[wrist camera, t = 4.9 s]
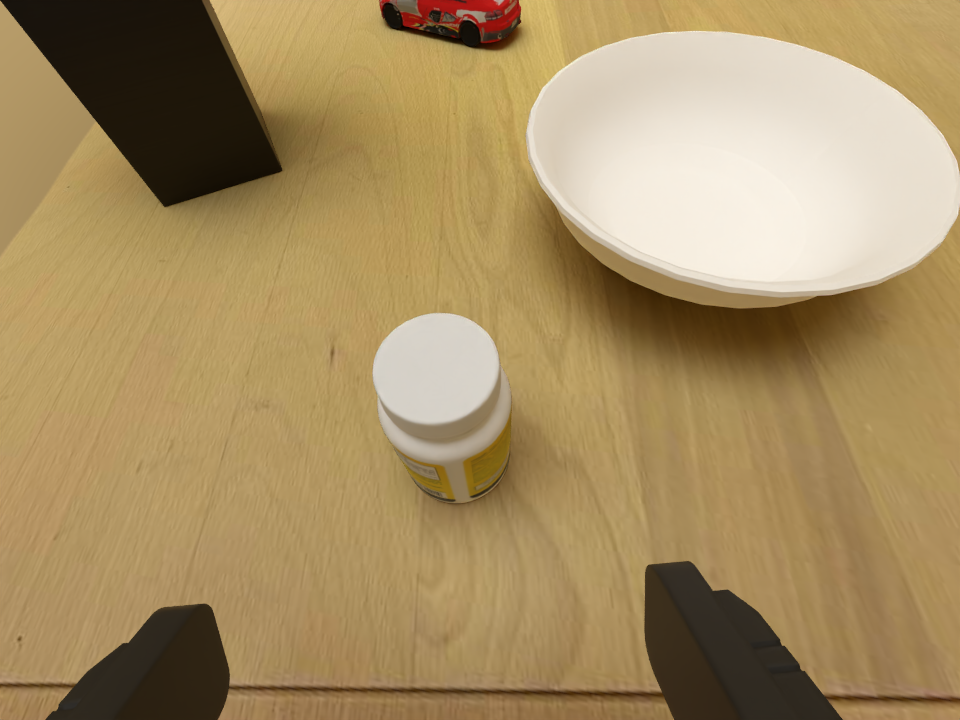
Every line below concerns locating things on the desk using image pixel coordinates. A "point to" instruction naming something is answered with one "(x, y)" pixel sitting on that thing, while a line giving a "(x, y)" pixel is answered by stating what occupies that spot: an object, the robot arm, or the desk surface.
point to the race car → (455, 17)
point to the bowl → (740, 168)
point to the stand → (157, 88)
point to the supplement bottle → (445, 405)
